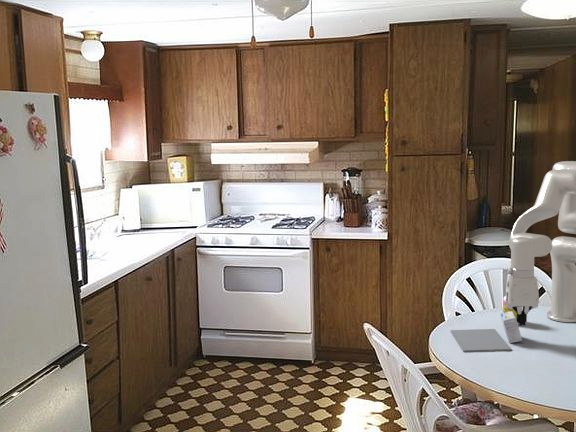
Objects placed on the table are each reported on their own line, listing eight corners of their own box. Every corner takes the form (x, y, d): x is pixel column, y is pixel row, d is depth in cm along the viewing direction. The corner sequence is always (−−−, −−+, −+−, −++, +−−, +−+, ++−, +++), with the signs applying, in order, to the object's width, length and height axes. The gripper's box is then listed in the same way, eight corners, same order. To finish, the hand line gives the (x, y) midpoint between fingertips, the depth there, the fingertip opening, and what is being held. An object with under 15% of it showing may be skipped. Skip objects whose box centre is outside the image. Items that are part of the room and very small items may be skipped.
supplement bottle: (499, 320, 236) (500, 288, 234) (515, 318, 237) (515, 286, 235) (509, 326, 230) (509, 293, 228) (525, 324, 231) (525, 291, 229)
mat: (450, 331, 227) (450, 330, 227) (494, 330, 226) (494, 328, 226) (463, 351, 207) (463, 350, 207) (511, 350, 206) (511, 348, 206)
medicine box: (522, 341, 212) (516, 317, 211) (509, 343, 213) (503, 320, 212) (518, 333, 219) (512, 310, 218) (505, 335, 220) (499, 313, 219)
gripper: (503, 276, 209) (503, 328, 211) (548, 275, 208) (547, 327, 211) (497, 271, 216) (496, 321, 219) (540, 269, 215) (539, 320, 218)
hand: (521, 323), depth 215 cm, fingers closed
